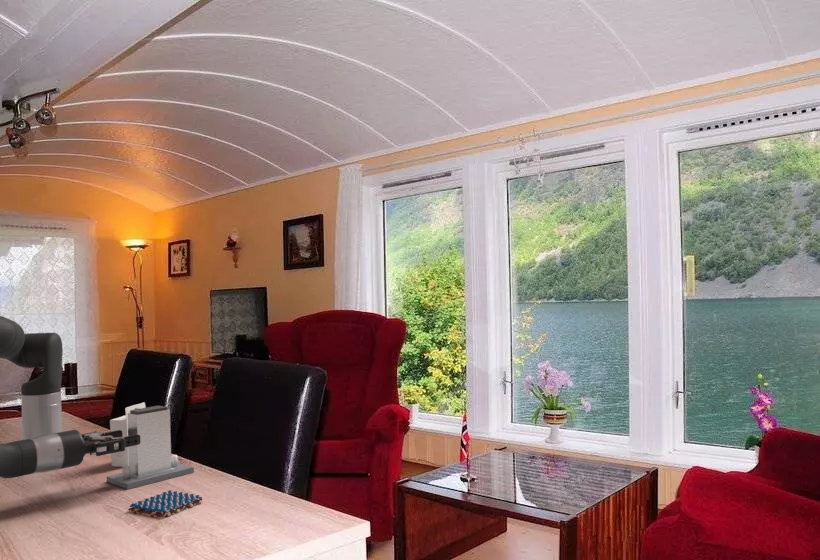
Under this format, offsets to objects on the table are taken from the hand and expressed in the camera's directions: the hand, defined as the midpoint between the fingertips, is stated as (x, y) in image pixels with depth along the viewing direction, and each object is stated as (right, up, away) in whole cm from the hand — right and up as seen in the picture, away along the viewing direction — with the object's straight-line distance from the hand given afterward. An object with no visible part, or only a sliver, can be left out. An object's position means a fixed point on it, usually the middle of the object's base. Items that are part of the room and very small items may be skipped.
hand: (130, 436), depth 146 cm
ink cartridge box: (-8, -11, +18) cm, 22 cm away
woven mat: (+15, -10, -19) cm, 26 cm away
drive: (+3, -9, +3) cm, 10 cm away
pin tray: (+3, -10, +3) cm, 11 cm away
